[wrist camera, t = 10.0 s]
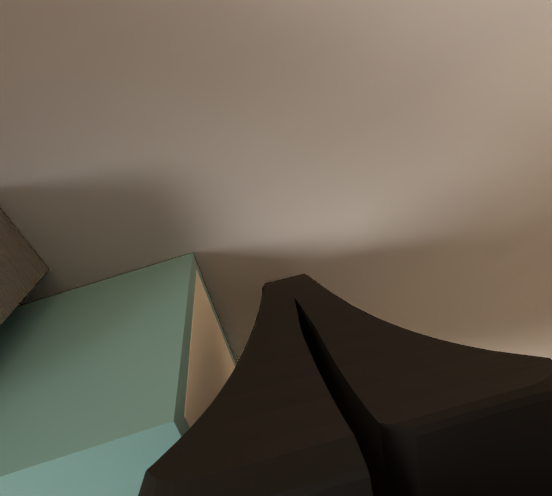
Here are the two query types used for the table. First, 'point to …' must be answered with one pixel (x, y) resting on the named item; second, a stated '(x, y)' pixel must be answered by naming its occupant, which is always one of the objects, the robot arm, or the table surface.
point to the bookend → (16, 267)
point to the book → (106, 380)
